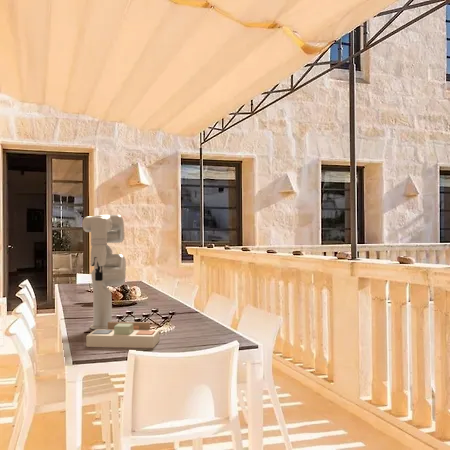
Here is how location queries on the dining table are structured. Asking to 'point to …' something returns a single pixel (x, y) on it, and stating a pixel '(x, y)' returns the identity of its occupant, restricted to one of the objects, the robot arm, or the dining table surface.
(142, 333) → the key terracotta
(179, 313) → the dining table surface
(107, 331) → the key slate
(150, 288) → the dining table surface
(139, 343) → the keypad
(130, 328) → the key sage
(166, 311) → the dining table surface
